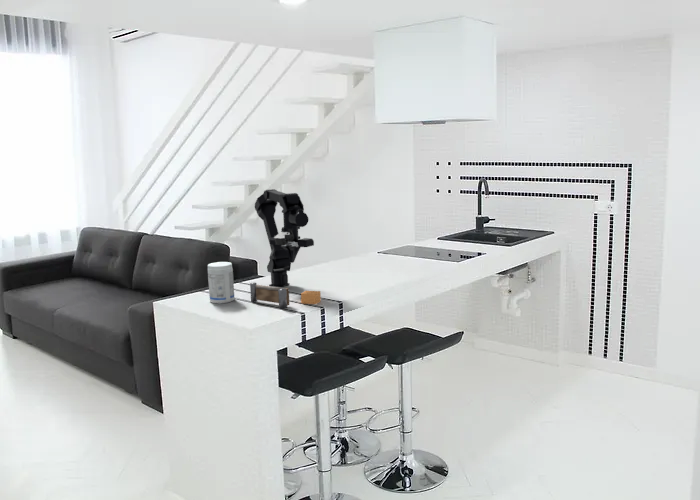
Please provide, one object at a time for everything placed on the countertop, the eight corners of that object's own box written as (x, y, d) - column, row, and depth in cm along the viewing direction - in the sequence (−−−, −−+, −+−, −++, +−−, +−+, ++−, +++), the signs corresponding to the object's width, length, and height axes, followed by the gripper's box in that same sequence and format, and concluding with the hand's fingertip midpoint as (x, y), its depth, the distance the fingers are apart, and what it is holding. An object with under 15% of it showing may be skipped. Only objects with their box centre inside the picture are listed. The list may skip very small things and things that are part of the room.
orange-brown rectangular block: (301, 303, 248) (300, 293, 248) (306, 300, 253) (305, 290, 252) (316, 304, 247) (315, 294, 246) (320, 301, 251) (320, 291, 251)
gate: (256, 301, 251) (255, 284, 250) (258, 300, 252) (258, 284, 251) (287, 305, 243) (286, 289, 242) (289, 304, 244) (288, 288, 243)
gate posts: (249, 301, 253) (248, 283, 251) (255, 300, 255) (254, 282, 254) (282, 309, 240) (282, 290, 239) (288, 307, 242) (288, 288, 241)
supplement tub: (225, 296, 262) (223, 260, 259) (239, 300, 255) (237, 263, 253) (204, 301, 255) (202, 264, 252) (219, 305, 248) (216, 267, 246)
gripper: (260, 225, 262) (261, 264, 265) (297, 228, 252) (298, 267, 255) (277, 222, 272) (278, 259, 274) (314, 224, 262) (315, 263, 264)
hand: (292, 262), depth 267 cm, fingers closed
